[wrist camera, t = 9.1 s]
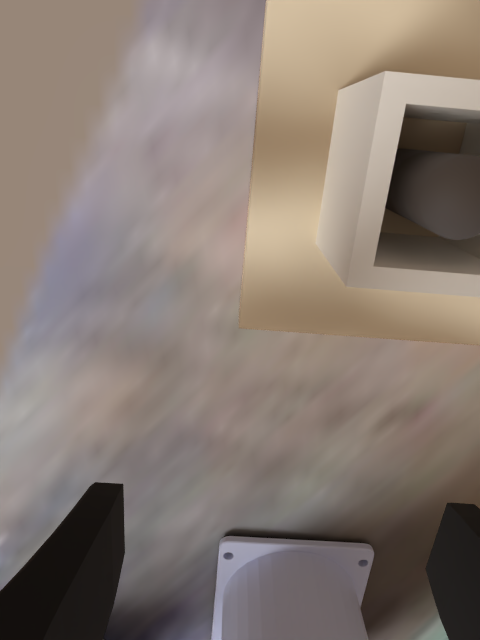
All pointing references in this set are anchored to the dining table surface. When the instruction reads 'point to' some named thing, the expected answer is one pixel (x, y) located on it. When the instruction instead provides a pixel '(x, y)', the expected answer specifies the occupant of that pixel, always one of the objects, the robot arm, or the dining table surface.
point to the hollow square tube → (374, 180)
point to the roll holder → (312, 157)
